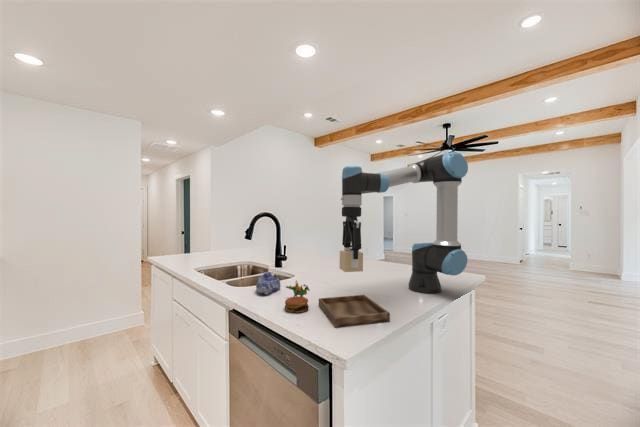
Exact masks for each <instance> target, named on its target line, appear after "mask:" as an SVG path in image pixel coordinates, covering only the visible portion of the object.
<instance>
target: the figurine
mask: <svg viewBox="0 0 640 427" xmlns="http://www.w3.org/2000/svg"><path fill="white" fill-rule="evenodd" d="M303 287H304V288H303ZM285 288H287V289H289V290H292V291H293V297H297V296H299V297H304V296H306V295H308V294H309V293H308V292H310V287H309V286H308V285H306V284H305V283H303V284H299V283H298V280H295V284H294V285H293V286H292V285H287V286H285Z"/></svg>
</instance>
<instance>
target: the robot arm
mask: <svg viewBox="0 0 640 427" xmlns="http://www.w3.org/2000/svg"><path fill="white" fill-rule="evenodd" d="M468 171H469V165H468V161H467V159H466V157H464V155H463V154H462V153H460V152H457V151H451V152H446V153H443V154H440V155H436V156H431V157H428V158H425V159H423V160H421V161H417V162H414V163H411V164H409V165H408V166H405V167H400V168H395V169H391V170H386V171H381V172H376V173H373V172H363V169H362V167H361V166H359V165H349V166H348V165H347V166H344V167H343V168H342V171H341V173H342V174H341V197H340V200H341V205H342V207H341V216H342V217H345V220H344V221H342V240H341V241H342V246H343V247H344V250H343V251H351V268H358V258H359V252H360V250H362V230H361V227H362V222H361V221H359V220H358V217H359V218H360V217H361V216H362V207H361V206H362V202H363V201H362V198H363V197H362V194H363V195H364V194H370V193H371V194H372V193H386V192H387V191H388V190H389V188H391V187H395V186H399V185H403V184H405V185H406V184H409V183H412V184H417V183H425V182H427V183H428V182H429V183H430V182H432V183H433V185H434V186H435V187H436V234H435V236H436V240H434V242H422V243H414V244H413V245H412V249H411V250H412V251H411V276H410V278H409V282H408V289H409V290H410V291H413V292H416V293H421V294H438V293H441V291H442V285H441V282H440V279H439V276H438V273H441V274H444V275H446V276H447V275H448V276H458V275H460V274H461V273H463V271H465V269H466V268H467V265H468V254H467V253H466V252H465V251H464V250H463V249H462V244H461V243H460V242H459V241H458V202H459V200H458V199H459V198H458V197H459V196H458V194H459V193H458V192H459V186H460V185H461V184H462V182H463V181H462V178H464V177H466V176H467V173H468Z"/></svg>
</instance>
